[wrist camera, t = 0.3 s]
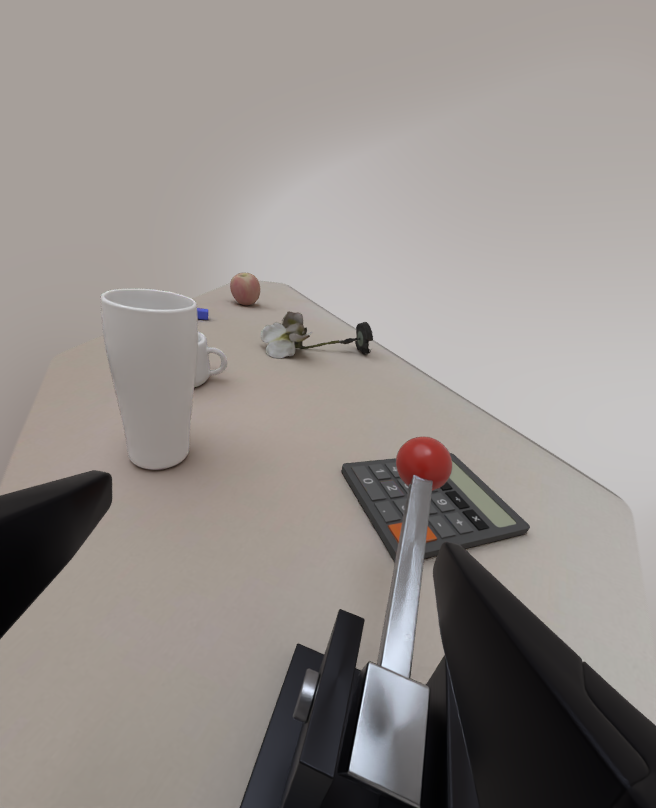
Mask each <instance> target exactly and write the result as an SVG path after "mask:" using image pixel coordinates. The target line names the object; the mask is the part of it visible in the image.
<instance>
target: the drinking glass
mask: <svg viewBox="0 0 656 808" xmlns="http://www.w3.org/2000/svg"><path fill="white" fill-rule="evenodd" d="M100 298H101V299H100V300H101V314H102V325H103V335H104V342H105V348H106V353H107V358H108V363H109V367H110V372H111V376H112V380H113V384H114V389H115V393H116V397H117V402H118V406H119V410H120V415H121V419H122V424H123V428H124V433H125V437H126V444H127V452H128V456H129V459H130V460H131V461H132V462H133V463H134V464H135V465H137V466H139V467H141V468H145V469H151V470H158V469H165V468H169V467H172V466H175V465H177V464H179V463H180V462H181V461H183V460H184V459H185V458H186V456H187V455H188V453H189V449H190V425H191V414H192V404H193V394H194V384H195V375H196V365H197V353H198V316H197V303H196V302H195V301H194V300H193V299H191V298H189V297H187V296H184V295H181V294H177V293H173V292H168V291H161V290H153V289H138V288H135V289H134V288H129V289H115V290H110V291H107V292H104V293H103V294H102V295H101V297H100Z"/></svg>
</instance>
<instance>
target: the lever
mask: <svg viewBox="0 0 656 808" xmlns="http://www.w3.org/2000/svg"><path fill="white" fill-rule="evenodd" d="M396 468H397V472H398V475H399V476H400V478H401V480H402V481H403V482H404V483H405V484H406V485H407V486H409V487H408V493H407V498H406V504H405V510H404V515H403V521H402V526H401V532H400V537H399V543H398V548H397V554H396V560H395V565H394V571H393V576H392V582H391V587H390V593H389V599H388V604H387V610H386V615H385V621H384V626H383V632H382V638H381V643H380V649H379V654H378V660H377V664H375V663H373V662H371V661H370V662H368V663H367V664H366V665H365V667H364V668H363V669H362V670H361V672H360V673H359V674H358V676H357V679H356V684H355V688H354V693H353V698H352V703H351V707H350V712H349V717H348V722H347V726H346V731H345V736H344V741H343V745H342V750H341V755H340V759H339V764H338V769H337V774H338V775H339V776H341V777H343V778H345V779H347V780H349V781H351V782H353V783H355V784H357V785H359V786H361V787H363V788H365V789H367V790H369V791H371V792H373V793H375V794H377V795H379V796H381V797H383V798H385V799H387V800H389V801H391V802H393V803H395V804H397V805H400V806H405V807H410V808H421V806H422V797H423V784H424V771H425V758H426V745H427V732H428V719H429V706H430V693H431V690H430V687H429V686H427V685H424V684H422V683H420V682H417V681H415V680H413V679H410V676H411V667H412V658H413V650H414V641H415V632H416V624H417V615H418V606H419V598H420V589H421V580H422V572H423V563H424V554H425V546H426V537H427V528H428V520H429V511H430V502H431V494H432V491H434V490H437V489H439V488H440V487H442V486H443V485H444V484H445V483H446V482H447V481H448V479H449V478H450V475H451V472H452V459H451V455H450V453H449V451H448V450H447V448H446V447H445V446H444V445H443V444H442V443H441V442H439V441H437V440H436V439H433V438H430V437H416V438H413V439H410V440H409V441H407V442H406V443H405V444H403V446H402V447H401V448H400V450H399V452H398V454H397V457H396Z"/></svg>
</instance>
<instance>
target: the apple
mask: <svg viewBox="0 0 656 808" xmlns="http://www.w3.org/2000/svg"><path fill="white" fill-rule="evenodd" d="M230 288H231V292H232V295H233V296H234V298H235V299H236V300H237V302H239V303H240V304H242V305H251V304H254V303H255V302H256V301H257V299H258V298H259V295H260V284H259V282H258V280H257V278H256V277H255V276H254V275H252V274H250V273H239V274H237V275H236V276H234V277H233V278H232V280H231V284H230Z"/></svg>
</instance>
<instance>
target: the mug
mask: <svg viewBox="0 0 656 808" xmlns="http://www.w3.org/2000/svg"><path fill="white" fill-rule="evenodd" d="M209 353H215V354H217V355H219V356H220V358H221V366H220V367H219V368H218V369H215V370H210V363H209V355H208V354H209ZM226 367H227V358H226V355H225V354H224V353H223V352H222V351H221V350H219V349H217V348H212V347H208V345H207V338H206V337H205V335H204V334H202V333H200V332H198V353H197V365H196V375H195V384H194V387H197V386H200V385H201V384H203V383H204V382H205V381H206V380H207V379H208V378H209V376H210V375H217V374H220V373H222V372H223V371H224V370H225V369H226Z"/></svg>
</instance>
